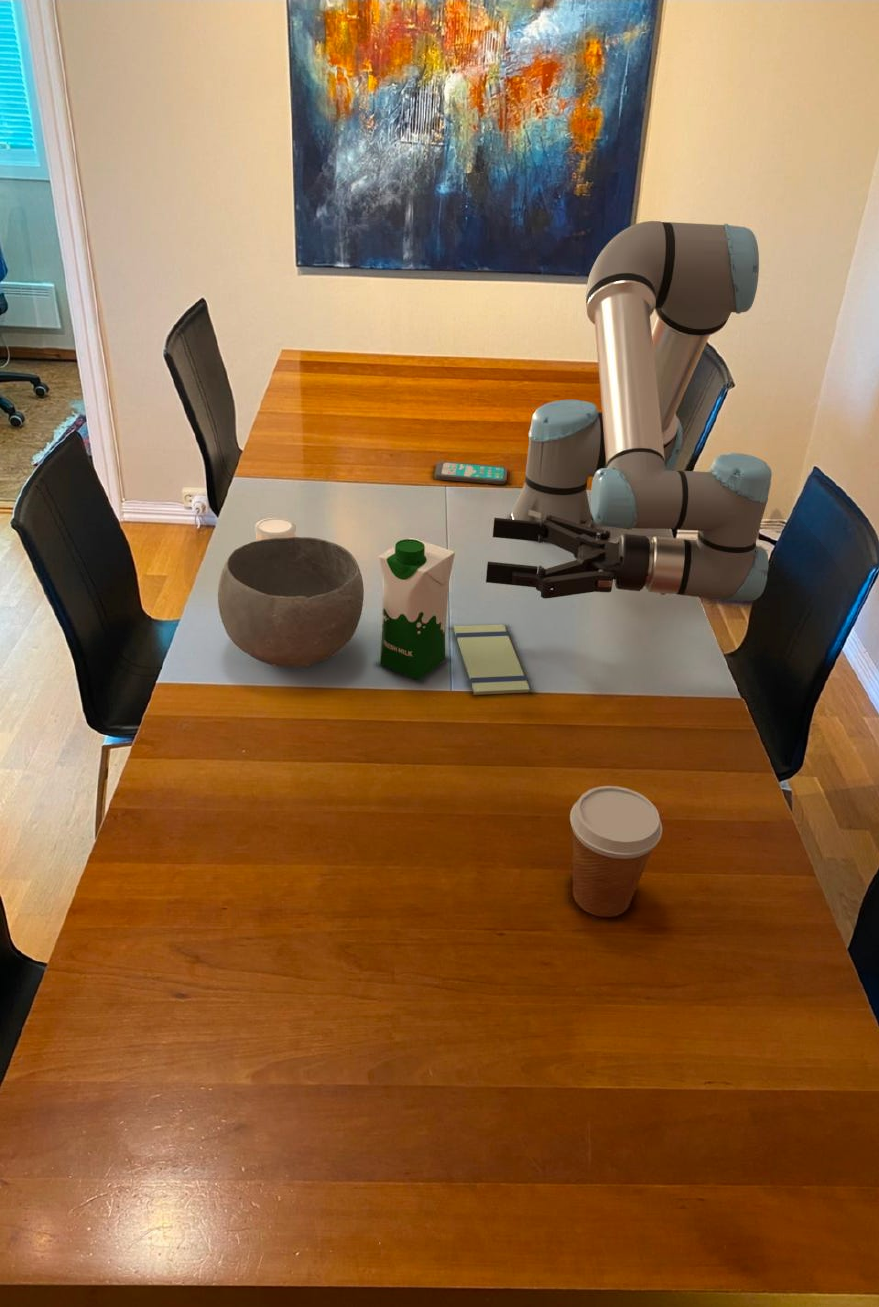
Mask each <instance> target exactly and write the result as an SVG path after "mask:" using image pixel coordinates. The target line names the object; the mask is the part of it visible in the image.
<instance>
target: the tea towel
mask: <svg viewBox="0 0 879 1307" xmlns="http://www.w3.org/2000/svg"><path fill="white" fill-rule="evenodd" d="M453 631H454V634H455V638H456V641H457V644H458V647H459V651H460V654H461V656H462V659H463V663H464V666H465V670H466V673H467V676H468V678H469V682H470V685H471V688H472V691H473V695H475V696H478V695H480V696H481V695H503V694H523V693H525V694H527V693H530V690H531V689H530V686H529V683H528V681H527V678H526V676H525V674H524V671H523V670H522V667H521V666H522V665H521V664H520V661H519V659H518V656H517V654H516V650H515V649H514V646H513V644H512V642H511V639H510V636H509V634H508V631H507V629H506V626H505V624H503V623H502V624H476V625H475V624H473V625H454V626H453Z"/></svg>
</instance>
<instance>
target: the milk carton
mask: <svg viewBox="0 0 879 1307" xmlns="http://www.w3.org/2000/svg"><path fill="white" fill-rule="evenodd" d="M455 554H456V551H454V550H450V549H448V548H444V547H442V546H439V545H436V544H433V543H429V542H426V541H423V540H420V539H418V538H416V537H415V538H414V537H408V538H405V539H400V540H397V542H396V543H395V545H394V546H393V547H392V548H389V549H388V550H387V551H385V552H383V553H382V554H380V555H379V558H378V559H379V564H380V569H381V574H382V609H381V610H382V612H381V638H380V639H381V640H380V655H379V656H380V657H379V665H380V666H381V667H384V668H387V669H389V670H391V671H394V672H396V673H399V674H402V675H404V676H406V677H409V678H411V679H414V680H416V681H418V682H420V681H421V680H422V679H423V678H425V677H426V676H428V674H430V673H431V672H432V671H433V670H435V669H436V668H437V667H438V666H440V665H441V664H442V663H443V662H445V661H446V632H447V631H446V628H447V614H448V601H449V600H448V599H449V585H450V578H451V573H452V569H453V564H454V559H455Z"/></svg>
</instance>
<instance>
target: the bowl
mask: <svg viewBox="0 0 879 1307" xmlns="http://www.w3.org/2000/svg"><path fill="white" fill-rule="evenodd" d="M363 580H364V579H363V576H362V573H361V570H360V567H359V564H358V562H357V560H356V558H355V557H354V556H353V554H352V553H351V552H350V551H349V550H348V549H346V548H345V547H343V546H341V545H339V544H337V543H335V542H333V541H328V540H325V539H322V538H317V537H309V536H301V537H300V536H295V537H291V538H271V539H264V540H259V541H257V540H255V541H251V542H249V543H246V544H244V545H242V546H240V547H238V548H236V549H234V551H233V552H232V553H230V555H229V556H228V557H227V559H226V561H225V563H224V565H223V567H222V570H221V574H220V576H219V581H218V586H217V587H218V588H217V605H218V610H219V611H218V612H219V615H220V619H221V623H222V625H223V627H224V630H225V633H226V634H227V636H228V637H229V639H230V640H231V642H233V644H234V645H235V646H236V647H237V648H238V649H239V650H241V651H242V652H244V653H245V654H247V655H248V656H250V657H251V658H253V659H255V660H257V661H259V662H262V663H264V664H268V665H270V666H278V667H286V668H289V667H291V668H292V667H294V668H296V667H304V666H305V667H306V666H311V665H314V664H317V663H320V662H322V661H325V660H327V659H330V658H331V657H333V656H335V655H336V654H338V653H339V652H340V651H341V650H342V649H343V648H344V647H345V646H346V645H347V644H348V643H349V642H350V641H351V640H352V638H353V636H354V634H355V632H356V631H357V628H358V626H359V623H360V620H361V616H362V612H363V606H364V603H363V602H364V595H365V592H364V590H365V588H364V581H363Z"/></svg>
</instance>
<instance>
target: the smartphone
mask: <svg viewBox="0 0 879 1307" xmlns="http://www.w3.org/2000/svg"><path fill="white" fill-rule="evenodd" d="M433 476H434V479H436V480H440V481H441V480H443V481H454V482H464V483H465V482H466V483H467V482H468V483H477V484H478V483H479V484H491V485H505V484H507V479H508V467H506V466H504V465H495V464H494V465H493V464H482V463H469V462H457V461H438V462H437V463H436V466H435V471H434V475H433Z"/></svg>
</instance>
